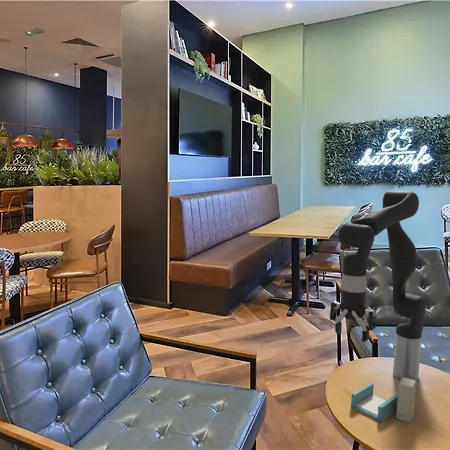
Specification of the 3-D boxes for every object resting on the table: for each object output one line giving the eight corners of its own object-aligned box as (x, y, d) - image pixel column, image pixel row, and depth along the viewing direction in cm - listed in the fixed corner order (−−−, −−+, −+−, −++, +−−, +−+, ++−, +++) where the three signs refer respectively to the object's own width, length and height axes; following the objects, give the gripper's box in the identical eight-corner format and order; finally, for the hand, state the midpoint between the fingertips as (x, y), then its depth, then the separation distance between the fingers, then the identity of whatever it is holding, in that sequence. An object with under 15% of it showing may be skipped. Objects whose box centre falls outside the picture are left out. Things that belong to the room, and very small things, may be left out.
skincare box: (410, 423, 133) (412, 388, 132) (395, 419, 136) (397, 383, 134) (414, 414, 138) (416, 380, 137) (400, 410, 141) (402, 376, 139)
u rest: (369, 395, 150) (370, 382, 149) (399, 408, 142) (400, 395, 141) (350, 407, 142) (351, 393, 141) (381, 422, 134) (381, 407, 133)
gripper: (381, 290, 128) (378, 340, 130) (338, 281, 137) (336, 328, 139) (370, 295, 122) (368, 348, 124) (327, 286, 132) (325, 335, 134)
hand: (351, 337), depth 132 cm, fingers open, 8 cm apart
